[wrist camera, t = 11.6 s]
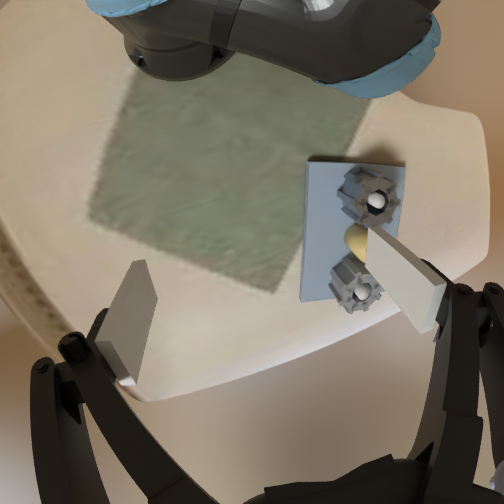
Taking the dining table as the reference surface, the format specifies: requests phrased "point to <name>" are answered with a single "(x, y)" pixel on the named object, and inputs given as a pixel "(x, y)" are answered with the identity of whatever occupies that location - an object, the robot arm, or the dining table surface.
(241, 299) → the dining table surface
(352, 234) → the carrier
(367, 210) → the gear
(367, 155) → the dining table surface
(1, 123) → the dining table surface
